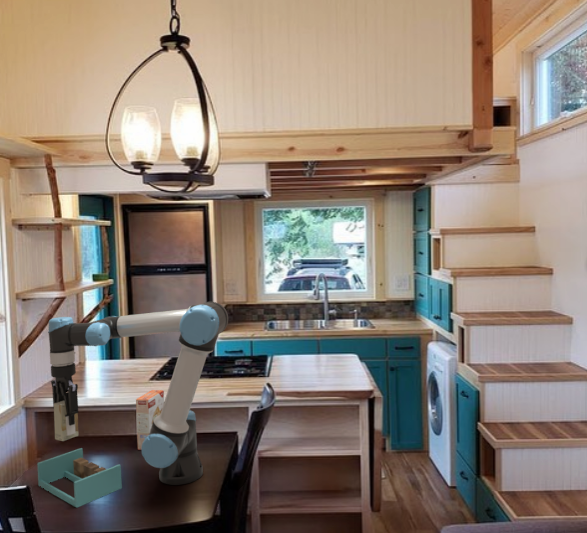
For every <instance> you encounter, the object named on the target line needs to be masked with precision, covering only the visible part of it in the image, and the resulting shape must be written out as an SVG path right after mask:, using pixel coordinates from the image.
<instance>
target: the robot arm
mask: <svg viewBox="0 0 587 533" xmlns="http://www.w3.org/2000/svg"><path fill="white" fill-rule="evenodd" d="M228 323H229V315H228V312H227V310H226V308H225V307H224V306H223V305H222V304H221V303H219V302H216V301H207V302H206V301H205V302H203V303H200V304H193V305H190V306H189V307H188V308H186V309H185V308H184V309H182V308H181V309H174V310H167V311H155V312H149V313H146V312H145V313H138V314H129V315H120V316H115V315H110V316H106V317H104V318H101V319H98V320H94V321H91V322H81V323H80V322H78V323H77V322H74V319H73V317H71V316H59V317H53V318H51V319H49V321H48V332H47V333H48V341H49V361H50V362H49V363H50V365H51V366H50V375H51V378H55V379H53V380H51V381H50V384H51V389H52V390H51V391H52V404H53V405H52V408H53V409H54V403H57V402H60V401H65V406H66V412H67V415H65V417H66V433H67V436H68V435H71V434H75V433H76V431H75V414H77V413H78V414H79V399H78V398H79V397H78V388H79V385H78V384H77V383H74V381H73V376H74V375H76V372H77V371H76V370H77V368H76V363H75V361H76V359H75V358H76V351H75V347H98V346H105V345H106V344H108V342H109V341H110V340H111V339H119V338H120V339H121V338H125V337H126V338H127V337H138V336H147V335H148V336H149V335H158V334H169V333H180V334H179V338H178V343H179V345H180V351H179V354H178V357H177V360H176V363H175V367H174V369H173V373H172V377H171V379H170V382H169V386H168V389H167V391H166V396H165V397H164V405H163V408H162V411H161V414H160V415H158V416H156V417H155V418H154V421H153V424H152V427H151V430H150V433H149V435H148V436H147V437H146V438H145V440H144V441H143V443H142V447H141V450H140V451H141V455H142V457H143V458H144V461H145V462H146V463H147V464H148V465H150V466H151V467H154V468H157V469H159V472H158V475H159V476H158V477H159V481H160V482H161V483H162V484H165V485H169V486H170V485H171V486H179V485H180V486H181V485H185V484H190V483H193V482H195V481H197V480H199V479H201V478H202V476H203V474H204V472H203V471H204V470H203V469H204V467H203V464H202V461H201V459H200V456H199V453H198V448H197V447H198V446H197V444H198V442H197V440H198V439H197V423H196V422H197V418H196V413H195V411H194V410H191V406H192V403H193V400H194V397H195V394H196V391H197V388H198V384H199V383H200V382H199V381H200V379H201V375H202V372H203V368H204V365H205V364H206V359H207V356H208V355H210V353H212V352H214V350H215V346H216V344H217V341H218V338H219V335H220V334H221V333H223V331H225V329H226V328H227V326H228Z"/></svg>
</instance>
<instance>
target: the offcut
mask: <svg viewBox="0 0 587 533" xmlns="http://www.w3.org/2000/svg"><path fill="white" fill-rule="evenodd" d="M88 463H90V462H89V460H87V459H86V458H84V457H83V458H79V459H76V460H73V465H74V475H76V476H78V477H80V478H82V479H83V478H84V468H83V465H85V464H88Z"/></svg>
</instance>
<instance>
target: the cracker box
mask: <svg viewBox="0 0 587 533" xmlns="http://www.w3.org/2000/svg"><path fill="white" fill-rule="evenodd" d="M164 391H165V390H162V389H151V390H149V391H148V392H146V393H145V394H142V395H141V396H139V397H137V398H136V399H135V408H136V411H135V412H136V413H135V414H136V437H137V439H136V440H137V450H138V451H141V447H142V443H143V441H144V440H145V438H146V437H147V436H148V435H149V433H150V430H151V427H152V424H153V421H154V418H155V417H156V416H158V415H160V414H161V411H162V408H163V405H164V401H165V396H164V395H165V393H164Z"/></svg>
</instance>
